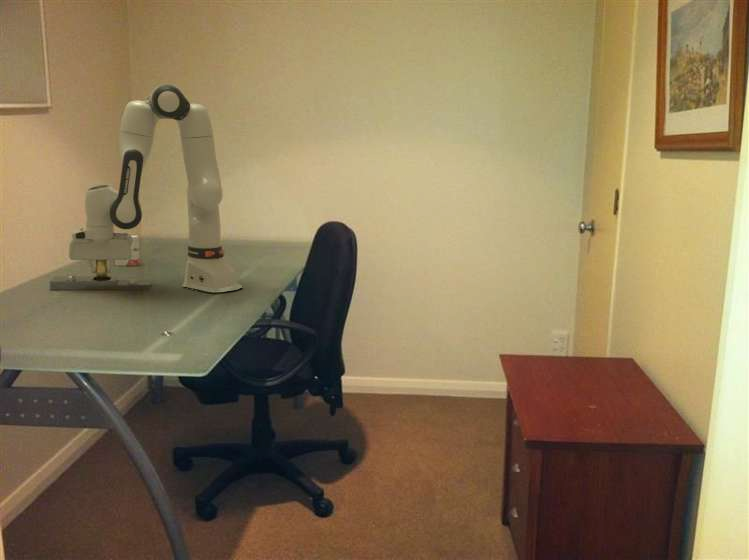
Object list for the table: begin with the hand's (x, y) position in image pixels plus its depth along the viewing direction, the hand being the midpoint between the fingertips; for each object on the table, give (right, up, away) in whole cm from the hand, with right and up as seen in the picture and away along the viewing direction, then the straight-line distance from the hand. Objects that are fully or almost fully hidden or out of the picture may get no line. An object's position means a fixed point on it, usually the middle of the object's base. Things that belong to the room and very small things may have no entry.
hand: (101, 272), depth 242 cm
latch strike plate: (0, -5, +1) cm, 5 cm away
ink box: (-5, +3, +38) cm, 39 cm away
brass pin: (0, -4, +1) cm, 4 cm away
